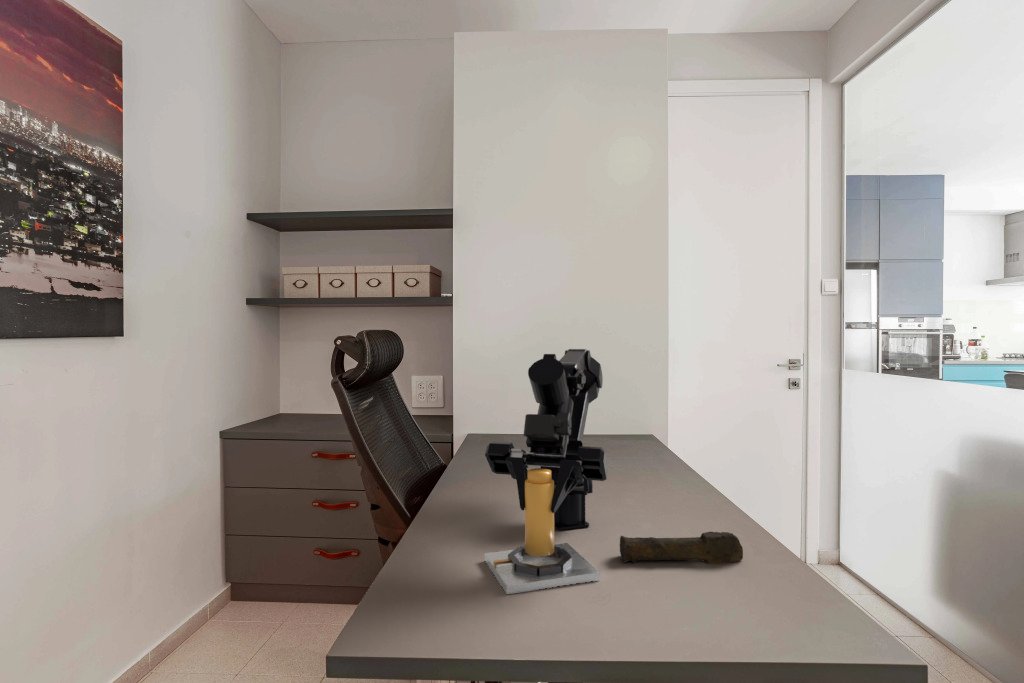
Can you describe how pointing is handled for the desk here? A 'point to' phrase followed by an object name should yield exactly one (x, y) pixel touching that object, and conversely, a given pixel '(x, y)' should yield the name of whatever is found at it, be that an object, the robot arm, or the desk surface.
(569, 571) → the plate
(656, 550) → the hand tool
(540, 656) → the desk surface
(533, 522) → the domed yellow peg
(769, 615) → the desk surface
